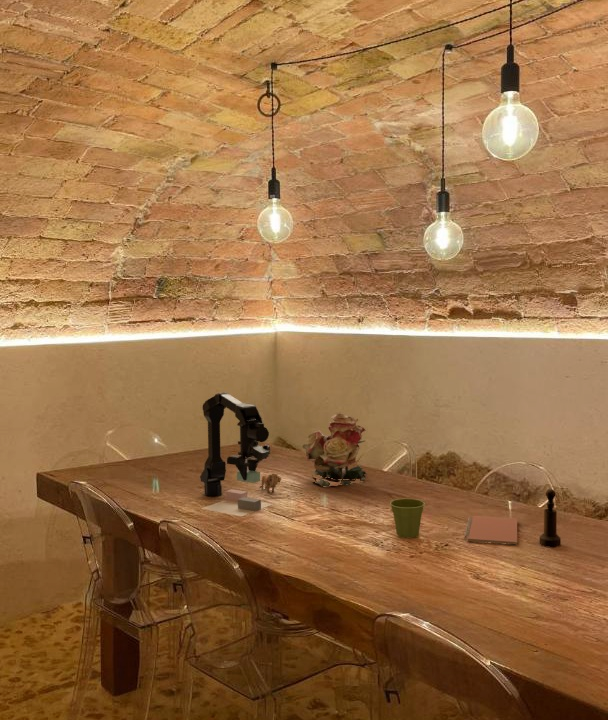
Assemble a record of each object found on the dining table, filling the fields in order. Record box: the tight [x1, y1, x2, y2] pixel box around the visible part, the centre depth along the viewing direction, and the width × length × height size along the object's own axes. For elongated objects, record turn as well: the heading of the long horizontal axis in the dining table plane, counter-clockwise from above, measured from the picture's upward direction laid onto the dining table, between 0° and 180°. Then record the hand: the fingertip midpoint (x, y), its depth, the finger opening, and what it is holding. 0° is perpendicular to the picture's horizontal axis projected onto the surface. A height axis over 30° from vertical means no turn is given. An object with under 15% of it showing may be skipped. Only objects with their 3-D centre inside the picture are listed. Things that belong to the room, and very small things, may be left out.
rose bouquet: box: [302, 412, 367, 487], centre depth 334 cm, size 26×29×30 cm
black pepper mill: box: [539, 488, 561, 548], centre depth 245 cm, size 7×6×18 cm
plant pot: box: [389, 497, 426, 539], centre depth 256 cm, size 12×12×11 cm
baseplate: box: [200, 496, 273, 517], centre depth 293 cm, size 20×20×4 cm
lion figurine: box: [259, 472, 282, 494], centre depth 316 cm, size 15×5×9 cm, turn 34°
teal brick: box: [236, 469, 261, 484], centre depth 289 cm, size 8×4×4 cm, turn 56°
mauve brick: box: [224, 488, 248, 502], centre depth 302 cm, size 8×4×4 cm, turn 56°
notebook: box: [463, 515, 518, 545], centre depth 260 cm, size 27×17×2 cm, turn 164°
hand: (248, 479), depth 289 cm, fingers closed on teal brick, 4 cm apart
